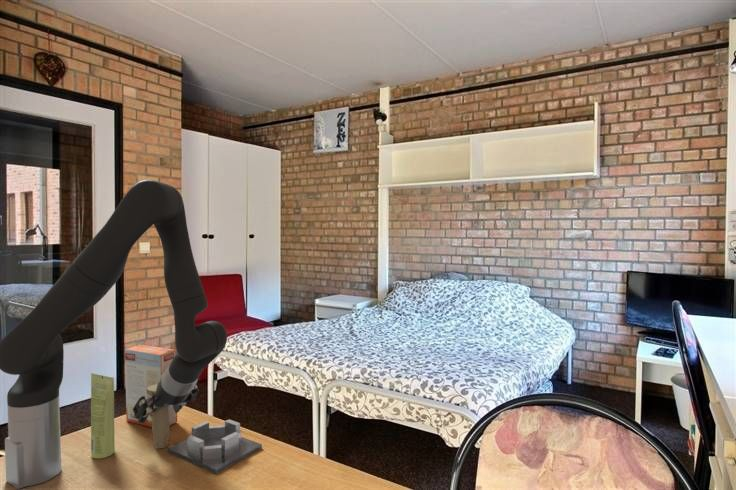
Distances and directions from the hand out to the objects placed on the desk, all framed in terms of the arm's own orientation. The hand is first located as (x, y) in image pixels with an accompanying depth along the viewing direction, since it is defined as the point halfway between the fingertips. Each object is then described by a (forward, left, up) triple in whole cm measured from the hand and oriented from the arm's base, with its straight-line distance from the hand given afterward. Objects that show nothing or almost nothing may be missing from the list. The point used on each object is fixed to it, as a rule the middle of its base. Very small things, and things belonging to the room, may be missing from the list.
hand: (158, 414), depth 115 cm
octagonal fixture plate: (+6, -14, -8) cm, 17 cm away
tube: (-10, +7, -8) cm, 15 cm away
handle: (0, -1, -8) cm, 8 cm away
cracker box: (+7, +14, -8) cm, 17 cm away
